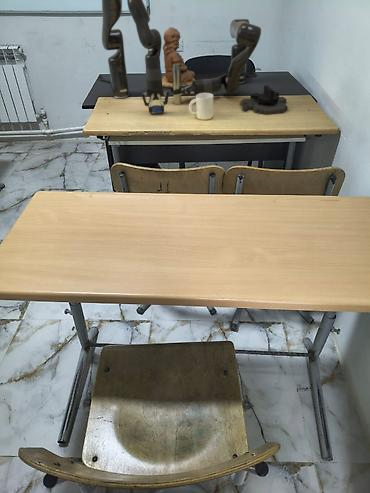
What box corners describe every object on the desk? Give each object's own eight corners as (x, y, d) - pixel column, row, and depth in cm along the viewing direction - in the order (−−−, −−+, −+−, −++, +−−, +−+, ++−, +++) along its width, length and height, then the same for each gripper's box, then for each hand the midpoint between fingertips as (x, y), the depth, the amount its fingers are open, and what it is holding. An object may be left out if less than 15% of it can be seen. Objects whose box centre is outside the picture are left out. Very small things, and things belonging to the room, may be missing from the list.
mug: (190, 121, 174) (189, 99, 167) (187, 115, 180) (187, 93, 173) (214, 119, 175) (214, 97, 168) (211, 113, 181) (211, 92, 174)
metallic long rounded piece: (174, 104, 193) (173, 65, 181) (172, 102, 196) (171, 63, 184) (182, 103, 194) (181, 64, 181) (180, 101, 197) (179, 62, 185)
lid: (154, 108, 185) (153, 104, 184) (163, 110, 183) (163, 105, 182) (149, 112, 181) (149, 107, 180) (158, 113, 180) (158, 109, 178)
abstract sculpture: (249, 96, 171) (238, 84, 186) (248, 115, 177) (236, 102, 192) (299, 92, 174) (283, 80, 189) (296, 111, 180) (281, 98, 195)
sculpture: (197, 88, 213) (196, 30, 194) (156, 89, 214) (152, 31, 194) (196, 75, 234) (196, 22, 215) (159, 76, 235) (156, 23, 215)
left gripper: (139, 81, 168) (143, 117, 179) (169, 78, 170) (171, 114, 181) (138, 76, 174) (142, 111, 185) (167, 74, 176) (169, 109, 187)
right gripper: (197, 76, 197) (167, 80, 193) (207, 83, 186) (175, 87, 183) (197, 90, 202) (168, 94, 198) (206, 98, 191) (176, 102, 187)
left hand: (156, 113), depth 183 cm, fingers closed on lid, 5 cm apart
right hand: (172, 91), depth 190 cm, fingers closed on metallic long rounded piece, 4 cm apart
